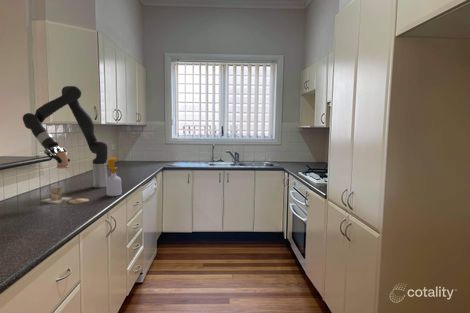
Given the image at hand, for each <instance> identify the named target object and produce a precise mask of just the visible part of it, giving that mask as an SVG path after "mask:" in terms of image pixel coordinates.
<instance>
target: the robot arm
mask: <svg viewBox="0 0 470 313" xmlns="http://www.w3.org/2000/svg"><path fill="white" fill-rule="evenodd" d="M81 96H82V90H81V88H79V87H78V86H75V85H68V86H67V85H65V86H63V87H62V89H61V95H60V96H58V97H57V98H54V99H52V100H50V101H48V102H46V103H44V104H43V105H41V106H39V107H38V108H37V109H36V111H35V113H31V112H27V113H24V114H23V116H22V121H23V125H24V127H25V128H27V129H28V130H30V131H31V132H32V134H33V136H34V137H35V138H36V139H37V141H38V143H39V144H40V145H41V146H42V147H43V148H44V149H45V150H44V151H43V153H44V154H46V156H47V157H48V158H50V159H54V160H55V161H56V163H57V162H58V163H61V162H62V160H61V159H60V158H59V157H57V156H58V155H57V153H58V152H60V151H64V152H67V153H68V155H69V154H70V153H69V150H67V148H66V147H65V146H63V147H61V146H59V143H58V141H57V140H56V138H54V136H53V135H52V134H51V133H50V132H49V131H48V130H47V129H46V128H45V127H44V126H43V124H42V123H43V122H44V121H45V120H46V119H47V118H49V117H50V116H52V115H53V114H54V113H56V112H57V111H59V110H60V109H62V108H63V107H65V106H66V105H68V107H69V109H70V110H71V112H72V115H73V117H74V119H75V120H76V123H77V125H78V127H79V128H80V130H81V132H82V134H83V136H84V138H85V140H86V143H87V145H88V149H89V151H90V152H91V153H93V154H95V158H93V159H92V175H93V176H92V177H93V178H92V180H93V182H92V183H93V188H106V180H107V178H108V177H109V175H108V170H107V169H108V164H107V162H108V154H109V153H108V151H109V149H108V145H107V143H106V142H104V141H99V140H98V139H97V138H96V135H95V125H94V124H95V123H94V121H93V119H92V117H91V115H90V113H89V112H87V110H86V109H85V108H84V107H83V106H82V105H81V104H80V101H79V99H80V98H81ZM69 162H71V158H70V157H69V156H68V163H69Z"/></svg>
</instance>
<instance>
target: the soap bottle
mask: <svg viewBox="0 0 470 313" xmlns="http://www.w3.org/2000/svg"><path fill="white" fill-rule="evenodd" d="M117 158H118V157H116V156H114V157H113V156H111V157H109V158H108V159H107V169H110V170H111V172H110V176H108V178H107V180H106V187H105V188H106V196H108V197H117V196H120V195H121V196H122V194H123V193H122V192H123V191H122V178H121V177H120V176H118V175H117V172H116V169H118V167H117V166H116V167H115V161H116V160H117Z"/></svg>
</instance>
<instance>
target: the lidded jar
mask: <svg viewBox="0 0 470 313" xmlns="http://www.w3.org/2000/svg"><path fill="white" fill-rule="evenodd" d="M68 153H69V152H68ZM68 153H67V152H64V151H60V152H58V153H57V155H58V156H57V157H59V158H60V159H61V160H62V162H61V163H58V162H57V161H56V165H57V166H56V169H68V168H70V165H69V162H68V157H69V154H68Z"/></svg>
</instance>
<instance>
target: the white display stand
mask: <svg viewBox="0 0 470 313" xmlns="http://www.w3.org/2000/svg"><path fill="white" fill-rule="evenodd" d="M62 192H63V189H62V186H54V187H53V186H52V187H50V197H48V198H45V199H42V200H39V203H43V204H55V205H58V204H62V203H65V202H67V201H70V200H73V199H74V198H73V196H72V197H71V196H70V197H69V196H63V193H62Z"/></svg>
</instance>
